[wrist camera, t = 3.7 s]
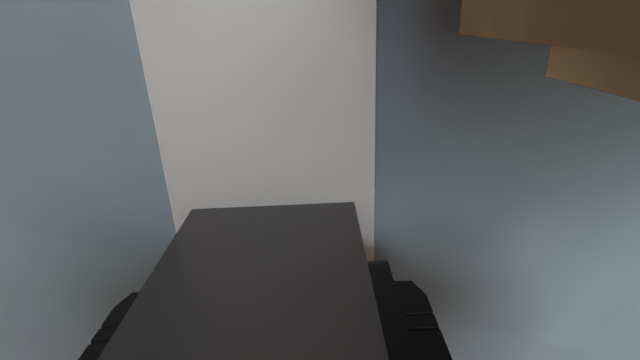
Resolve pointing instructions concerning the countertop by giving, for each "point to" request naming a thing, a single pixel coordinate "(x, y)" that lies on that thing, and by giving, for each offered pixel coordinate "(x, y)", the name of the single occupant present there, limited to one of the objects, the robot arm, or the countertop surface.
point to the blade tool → (260, 182)
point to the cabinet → (569, 37)
